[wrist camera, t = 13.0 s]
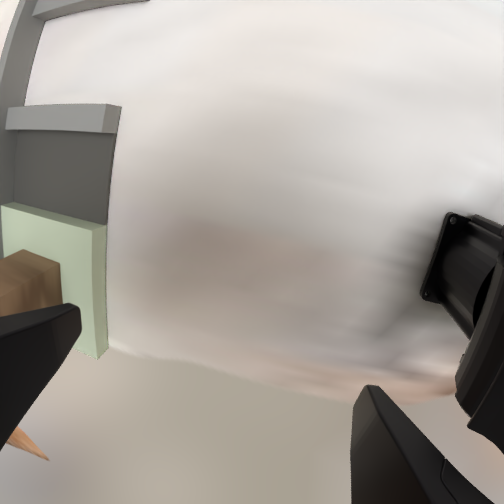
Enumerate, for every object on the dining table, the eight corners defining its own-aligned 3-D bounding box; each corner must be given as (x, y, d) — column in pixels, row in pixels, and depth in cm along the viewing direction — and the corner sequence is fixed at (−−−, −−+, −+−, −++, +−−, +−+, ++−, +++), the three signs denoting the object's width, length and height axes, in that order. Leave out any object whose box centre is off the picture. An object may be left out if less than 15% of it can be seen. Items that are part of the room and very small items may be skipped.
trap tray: (108, 348, 26) (89, 368, 23) (18, 305, 27) (-2, 318, 24) (156, -20, 16) (136, -39, 12) (43, 6, 17) (20, -3, 13)
